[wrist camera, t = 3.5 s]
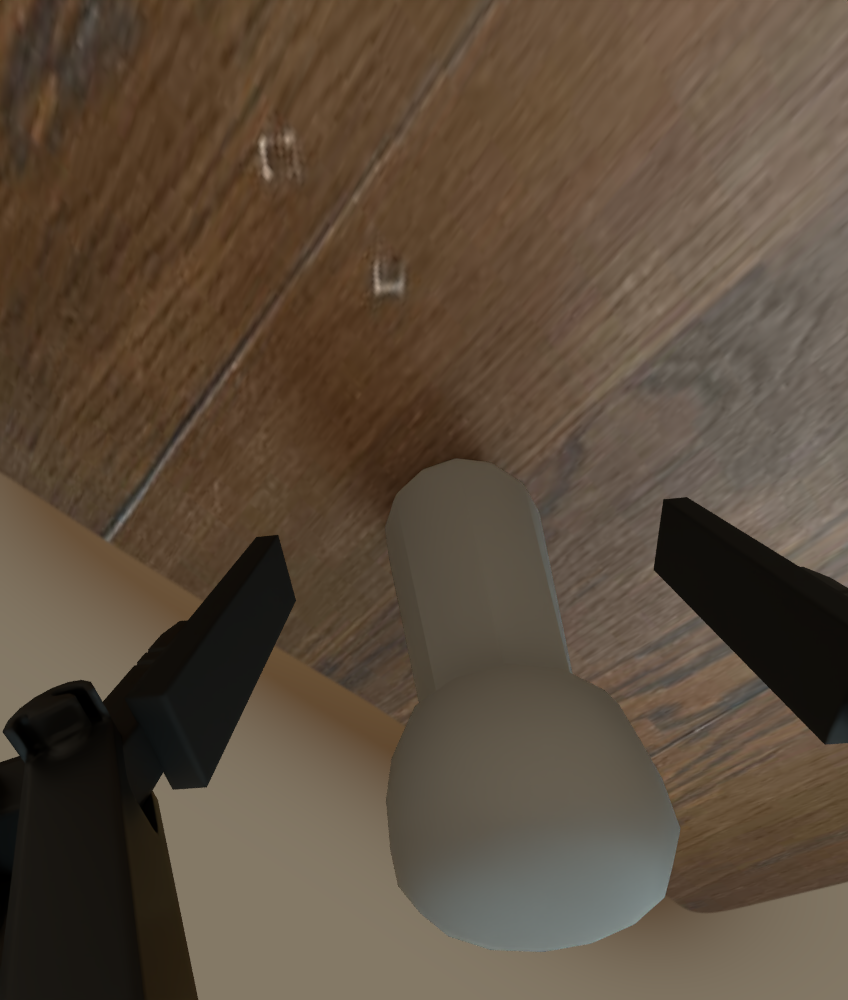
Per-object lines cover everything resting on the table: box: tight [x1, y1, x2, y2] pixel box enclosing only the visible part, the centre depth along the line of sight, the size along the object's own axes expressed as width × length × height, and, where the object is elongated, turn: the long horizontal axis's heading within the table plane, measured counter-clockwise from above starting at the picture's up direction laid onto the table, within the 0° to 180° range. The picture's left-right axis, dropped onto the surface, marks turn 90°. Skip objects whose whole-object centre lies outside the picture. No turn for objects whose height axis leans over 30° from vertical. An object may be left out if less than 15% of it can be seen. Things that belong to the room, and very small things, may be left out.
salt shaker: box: [385, 458, 680, 952], centre depth 11 cm, size 6×6×13 cm
